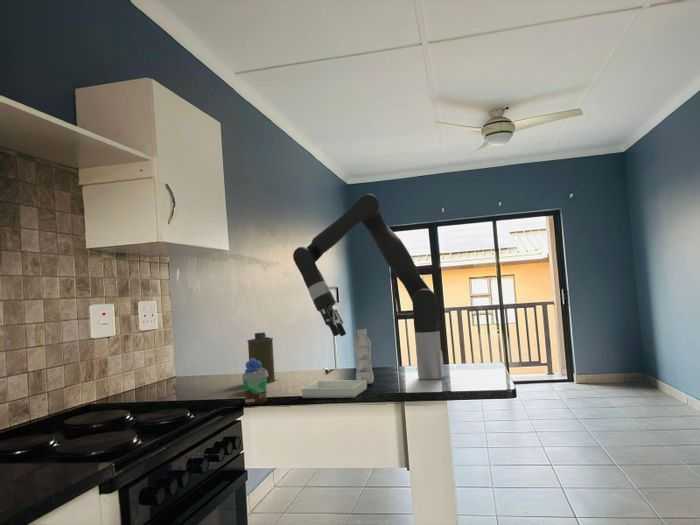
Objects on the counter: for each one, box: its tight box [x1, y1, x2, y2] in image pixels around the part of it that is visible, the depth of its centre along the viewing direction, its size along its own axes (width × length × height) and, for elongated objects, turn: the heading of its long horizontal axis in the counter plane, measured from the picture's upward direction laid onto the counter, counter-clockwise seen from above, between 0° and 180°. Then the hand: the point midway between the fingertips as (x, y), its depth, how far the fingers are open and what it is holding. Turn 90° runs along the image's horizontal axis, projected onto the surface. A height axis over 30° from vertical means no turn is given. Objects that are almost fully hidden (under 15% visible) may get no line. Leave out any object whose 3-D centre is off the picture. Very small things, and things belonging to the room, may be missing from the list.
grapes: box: [244, 358, 264, 374], centre depth 191 cm, size 12×7×12 cm, turn 47°
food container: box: [241, 369, 269, 406], centre depth 170 cm, size 12×6×10 cm, turn 168°
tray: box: [301, 379, 368, 399], centre depth 175 cm, size 18×15×3 cm
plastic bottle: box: [353, 328, 375, 385], centre depth 188 cm, size 6×7×20 cm
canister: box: [247, 332, 276, 384], centre depth 212 cm, size 11×10×20 cm
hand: (340, 335), depth 188 cm, fingers open, 8 cm apart
